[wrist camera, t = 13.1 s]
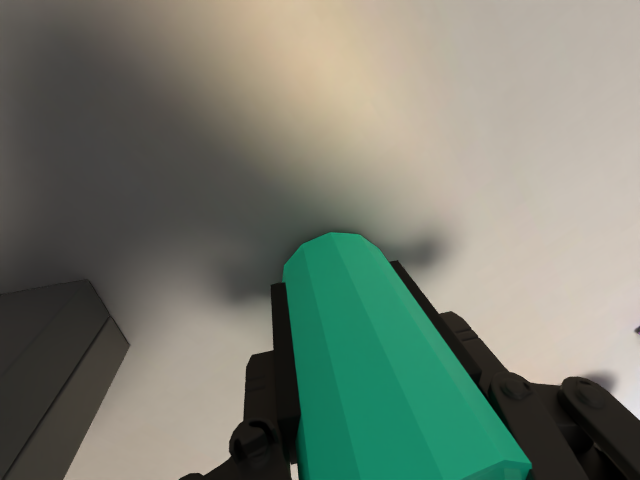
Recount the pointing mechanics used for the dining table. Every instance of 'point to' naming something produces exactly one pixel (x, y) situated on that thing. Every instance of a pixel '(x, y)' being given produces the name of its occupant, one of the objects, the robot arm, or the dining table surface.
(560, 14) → the dining table surface
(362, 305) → the candle
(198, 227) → the dining table surface
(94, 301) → the grey box
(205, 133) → the dining table surface
